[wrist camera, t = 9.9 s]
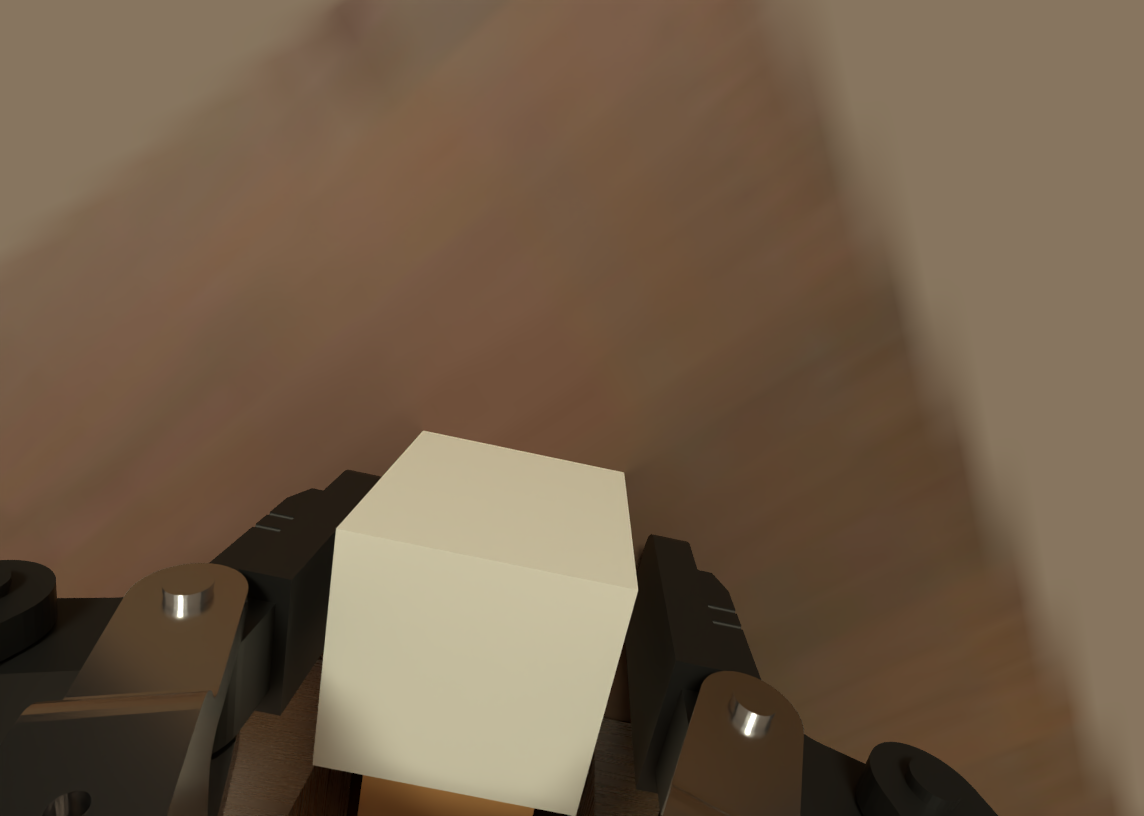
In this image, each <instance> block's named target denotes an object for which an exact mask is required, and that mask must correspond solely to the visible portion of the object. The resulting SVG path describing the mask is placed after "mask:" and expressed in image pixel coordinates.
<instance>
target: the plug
mask: <svg viewBox="0 0 1144 816" xmlns="http://www.w3.org/2000/svg"><path fill="white" fill-rule="evenodd" d="M637 593H638V584H637V576H636V568H635V559H634V551H633V543H632V535H631V526H630V518H629V510H628V501H627V493H626V485H625V477H624V473H623V472H619V471H614V470H609V469H604V468H600V467H595V466H590V465H585V464H580V463H576V462H571V461H566V460H561V459H556V458H552V457H547V456H542V455H537V454H533V453H528V452H523V451H518V450H513V449H509V448H504V447H499V446H494V445H490V444H485V443H480V442H475V441H470V440H466V439H461V438H456V437H451V436H447V435H442V434H437V433H432V432H427V431H422V433H421V434H420V435H419V436H418V437H417V438H416V439H415V440H414V442H413V443H412V444H411V445H410V446H409V447H408V448H407V449H406V451H405V452H404V453H403V454H402V455H401V456H400V457H399V458H398V460H397V461H396V462H395V463H394V464H393V465H392V466H391V467H390V469H389V470H388V471H387V472H386V473H385V474H384V475H383V476H382V478H381V479H380V480H379V481H378V482H377V483H376V484H375V485H374V487H373V488H372V489H371V490H370V491H369V492H368V493H367V494H366V496H365V497H364V498H363V499H362V500H361V501H360V502H359V503H358V505H357V506H356V507H355V508H354V509H353V510H352V511H351V512H350V514H349V515H348V516H347V517H346V518H345V519H344V520H343V521H342V523H341V524H340V525H339V526H338V527H337V528H336V535H335V545H334V555H333V565H332V575H331V585H330V595H329V605H328V615H327V625H326V635H325V645H324V655H323V664H322V674H321V684H320V694H319V704H318V714H317V724H316V734H315V744H314V754H313V764H312V765H315V766H320V767H325V768H330V769H335V770H340V771H346V772H351V773H356V774H361V775H363V778H362V786H361V793H360V801H359V808H358V816H533V813H534V809H541V810H546V811H551V812H556V813H561V814H566V815H571V816H576V813H577V810H578V806H579V802H580V799H581V795H582V792H583V788H584V784H585V781H586V777H587V773H588V770H589V766H590V763H591V759H592V755H593V752H594V748H595V745H596V741H597V737H598V734H599V730H600V726H601V723H602V719H603V716H604V712H605V708H606V705H607V701H608V697H609V694H610V690H611V687H612V683H613V679H614V676H615V672H616V669H617V665H618V661H619V658H620V654H621V650H622V647H623V643H624V640H625V636H626V632H627V629H628V625H629V622H630V618H631V614H632V611H633V607H634V603H635V600H636V596H637Z"/></svg>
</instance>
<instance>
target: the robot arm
mask: <svg viewBox="0 0 1144 816" xmlns="http://www.w3.org/2000/svg"><path fill="white" fill-rule="evenodd" d="M381 478H382V477H380V476H376V475H371V474H366V473H361V472H357V471H352V470H346V471H344V472H343V473H342V474H341V475H340V476H339V477H338V478H337V479H336V480H335V481H333V482H332V483H331V484H330V485H329V486H328V487H327V488H326V489H325V490H324V491H322V490H317V489H313V488H312V489H309V490H306V491H304V492H301V493H299V494H296V495H293V496H291V497H288V498H286V499H285V500H284V501H283V502H281V503H280V504H279V505H278V506H277V507H276V508H274V509H273V510H272V511H271V512H270V514H269V515H266V516H265V517H264V518H262V519H261V520H260V521H259V522H258V523H256V526H255V527H252V528H250V529H249V530H248V531H247V532H246V533H245V534H243V535H242V536H241V537H240V538H239V539H237V540H236V541H235V542H234V543H233V544H231V545H230V546H229V547H228V548H227V549H225V550H224V551H223V552H222V553H221V554H219V555H218V556H217V557H216V558H215V559H214V560H212V561H211V562H210V563H191V564H183V565H178V566H173V567H169V568H166V569H162V570H160V571H157V572H154V573H152V574H150V575H148V576H146V577H144V578H143V579H141V580H140V581H138V582H137V583H135V584H134V585H133V586H132V587H131V588H130V589H129V590H128V592H127V593H126V594H125V596H124V597H121V598H57V593H56V577H55V575H54V573H53V572H52V571H51V570H50V569H49V568H48V567H46V566H44V565H41V564H38V563H35V562H29V561H21V560H0V816H223V814H224V810H225V806H226V801H227V797H228V793H229V788H230V784H231V779H232V775H233V771H234V766H235V762H236V758H237V753H238V749H239V740H240V730H241V728H242V727H243V726H244V724H245V723H246V721H247V720H248V719H249V717H250V716H251V715H252V713H253V712H254V711H259V712H264V713H269V714H274V715H279V716H281V714H282V713H283V711H284V710H285V708H286V707H287V705H288V704H289V702H290V701H291V699H292V698H293V696H294V695H295V693H296V692H297V690H298V689H299V687H300V686H301V684H302V683H303V681H304V679H305V678H306V676H307V675H308V673H309V672H310V670H311V669H312V667H313V666H314V664H315V663H316V661H317V660H318V658H319V657H320V655H321V654H322V652H323V651H324V645H325V635H326V625H327V615H328V605H329V595H330V585H331V575H332V565H333V555H334V545H335V535H336V528H337V527H338V526H339V525H340V524H341V523H342V521H343V520H344V519H345V518H346V517H347V516H348V515H349V514H350V512H351V511H352V510H353V509H354V508H355V507H356V506H357V505H358V503H359V502H360V501H361V500H362V499H363V498H364V497H365V496H366V494H367V493H368V492H369V491H370V490H371V489H372V488H373V487H374V485H375V484H376V483H377V482H378V481H379V480H380V479H381ZM637 584H638V593H637V596H636V600H635V603H634V607H633V611H632V614H631V618H630V622H629V625H628V629H627V632H626V636H625V642H626V657H627V671H628V686H629V700H630V715H631V730H632V744H633V759H634V773H635V788H636V789H637V790H642V791H647V792H651V793H656V794H658V800H659V809H660V810H659V813H658V816H998V815H997V814H996V813H995V812H994V811H993V809H992V808H991V807H990V806H989V805H988V804H987V803H986V801H985V800H984V799H983V798H982V797H981V796H980V795H979V794H978V792H977V791H976V790H975V789H974V788H973V787H972V786H971V785H970V784H969V783H968V782H967V781H966V780H965V779H964V778H963V777H962V776H961V775H960V774H958V773H957V772H956V771H955V770H953V769H952V768H951V767H950V766H948V765H947V764H945V763H944V762H942V761H941V760H939V759H938V758H936V757H934V756H933V755H931V754H929V753H927V752H925V751H923V750H921V749H918V748H916V747H913V746H910V745H907V744H903V743H897V742H884V743H881V744H878V745H877V746H876V747H874V748H873V750H872V751H871V753H870V756H869V758H868V760H867V762H866V764H864V763H862V762H860V761H858V760H855V759H853V758H851V757H849V756H847V755H844V754H842V753H840V752H838V751H836V750H834V749H831V748H829V747H827V746H825V745H823V744H821V743H819V742H817V741H815V740H813V739H811V738H810V737H808V736H806V735H805V734H804V728H803V724H802V720H801V718H800V716H799V714H798V712H797V711H796V709H795V708H794V707H793V705H792V704H791V703H790V702H789V701H788V700H787V699H786V698H785V697H784V696H783V695H782V694H781V693H780V692H779V691H777V690H776V689H775V688H773V687H772V686H770V685H769V684H767V683H766V682H764V681H762V680H761V678H760V676H759V673H758V670H757V667H756V665H755V662H754V659H753V657H752V654H751V651H750V649H749V646H748V643H747V640H746V638H745V635H744V632H743V630H741V624H740V621H739V619H738V616H737V614H735V608H734V605H733V602H732V600H731V597H730V594H729V592H728V590H727V589H726V588H725V587H724V586H723V585H722V584H721V583H720V582H719V580H718V579H717V578H716V577H715V576H714V575H713V574H712V573H709V572H704V571H700V570H697V567H696V564H695V561H694V557H693V554H692V551H691V547H690V544H689V543H688V542H686V541H681V540H676V539H671V538H667V537H662V536H657V535H652V534H651V535H650V536H649V537H648V539H647V542H646V545H645V548H644V552H643V555H642V559H641V562H640V566H639V570H638V573H637Z"/></svg>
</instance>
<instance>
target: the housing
mask: <svg viewBox="0 0 1144 816" xmlns="http://www.w3.org/2000/svg"><path fill="white" fill-rule="evenodd" d="M322 664H323V660H317V661H316V663H315V664H314V666H313V667H312V669H311V670H310V672H309V673H308V675H307V676H306V678H305V679H304V681H303V683H302V684H301V686H300V687H299V689H298V690H297V692H296V693H295V695H294V696H293V698H292V699H291V701H290V702H289V704H288V705H287V707H286V708H285V710H284V711H283V713H282V714H281V716H279V715H274V714H269V713H264V712H259V711H254V712H253V713H252V715H251V716H250V717H249V719H248V720H247V721H246V723H245V724H244V726H243V727H242V728H241V730H240V740H239V749H238V753H237V758H236V762H235V766H234V771H233V775H232V779H231V784H230V788H229V793H228V797H227V801H226V806H225V810H224V814H223V816H347V811H348V803H349V796H350V788H351V781H352V773H351V772H346V771H340V770H335V769H330V768H325V767H320V766H315V765H312V764H313V754H314V744H315V734H316V724H317V714H318V704H319V694H320V684H321V674H322ZM659 810H660V809H659V800H658V794H656V793H651V792H647V791H642V790H637V789H636V788H635V773H634V759H633V744H632V730H631V723H626V722H621V721H616V720H611V719H606V718H603V719H602V723H601V726H600V730H599V734H598V737H597V741H596V745H595V748H594V752H593V755H592V759H591V763H590V766H589V770H588V773H587V777H586V781H585V784H584V788H583V792H582V795H581V799H580V802H579V806H578V810H577V813H576V816H658V813H659ZM568 816H571V815H568Z"/></svg>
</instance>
